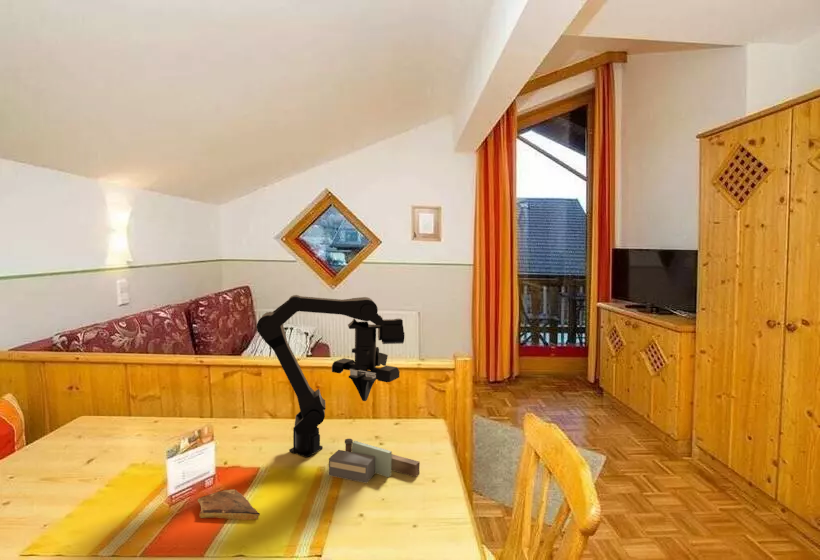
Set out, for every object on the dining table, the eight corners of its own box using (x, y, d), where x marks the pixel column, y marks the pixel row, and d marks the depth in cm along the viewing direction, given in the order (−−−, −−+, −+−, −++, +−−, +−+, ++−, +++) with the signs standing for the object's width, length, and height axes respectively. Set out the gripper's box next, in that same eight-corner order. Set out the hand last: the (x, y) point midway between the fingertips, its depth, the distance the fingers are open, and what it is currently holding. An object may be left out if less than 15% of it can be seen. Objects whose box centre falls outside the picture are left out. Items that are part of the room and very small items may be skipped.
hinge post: (342, 463, 119) (343, 440, 118) (347, 460, 120) (347, 437, 120) (349, 465, 118) (349, 442, 117) (354, 462, 120) (354, 439, 119)
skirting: (354, 459, 121) (354, 447, 121) (358, 456, 123) (358, 445, 123) (415, 477, 113) (415, 465, 112) (419, 473, 114) (419, 461, 114)
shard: (260, 522, 94) (260, 512, 94) (212, 540, 88) (212, 529, 88) (235, 494, 104) (235, 485, 104) (191, 509, 98) (191, 499, 98)
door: (351, 465, 118) (352, 442, 117) (357, 461, 120) (357, 439, 119) (388, 477, 112) (388, 453, 112) (393, 473, 114) (394, 449, 114)
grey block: (328, 476, 113) (328, 458, 112) (338, 467, 117) (338, 449, 117) (366, 484, 109) (366, 465, 109) (375, 474, 114) (375, 456, 114)
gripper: (409, 343, 129) (408, 398, 130) (354, 335, 138) (353, 387, 139) (389, 351, 119) (387, 410, 121) (330, 342, 128) (330, 397, 129)
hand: (364, 400), depth 128 cm, fingers closed
